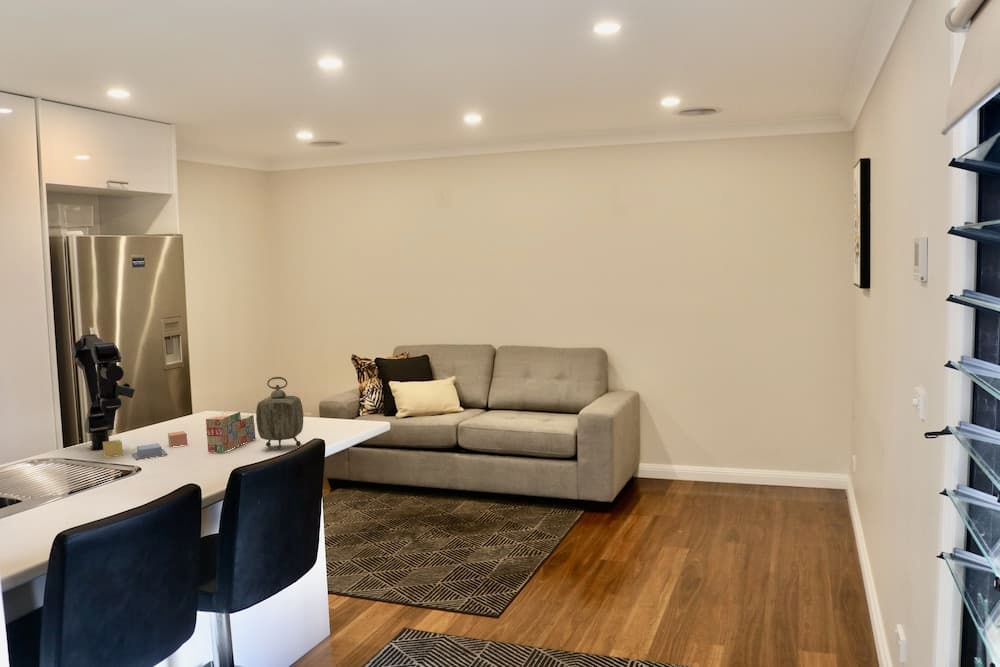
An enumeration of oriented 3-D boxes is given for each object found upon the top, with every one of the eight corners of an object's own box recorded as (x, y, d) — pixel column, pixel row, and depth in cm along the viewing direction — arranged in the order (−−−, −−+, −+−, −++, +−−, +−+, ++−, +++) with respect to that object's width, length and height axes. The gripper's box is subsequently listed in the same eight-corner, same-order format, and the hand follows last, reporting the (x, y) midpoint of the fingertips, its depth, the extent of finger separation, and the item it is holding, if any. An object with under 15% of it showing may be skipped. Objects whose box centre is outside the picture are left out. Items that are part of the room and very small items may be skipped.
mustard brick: (103, 454, 293) (102, 442, 293) (120, 452, 296) (119, 439, 295) (105, 457, 288) (104, 444, 288) (122, 455, 291) (121, 442, 291)
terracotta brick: (168, 445, 304) (167, 433, 304) (184, 443, 307) (183, 431, 306) (171, 448, 299) (170, 435, 299) (187, 445, 302) (186, 433, 302)
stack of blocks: (240, 439, 310) (238, 406, 308) (255, 439, 308) (253, 406, 307) (207, 453, 289) (205, 418, 288) (224, 453, 287) (221, 418, 286)
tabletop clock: (305, 444, 296) (300, 374, 294) (298, 450, 287) (293, 378, 285) (264, 445, 296) (259, 375, 294) (256, 452, 287) (251, 379, 285)
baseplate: (132, 454, 291) (131, 446, 290) (162, 450, 296) (162, 441, 295) (136, 460, 282) (135, 451, 282) (167, 455, 287) (166, 447, 287)
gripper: (135, 379, 286) (139, 424, 287) (128, 373, 302) (132, 416, 303) (99, 383, 280) (103, 429, 282) (94, 377, 296) (98, 420, 298)
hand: (110, 423), depth 291 cm, fingers open, 9 cm apart
